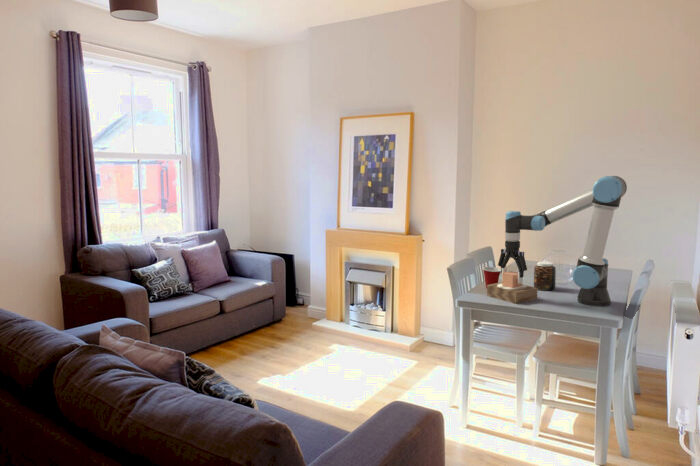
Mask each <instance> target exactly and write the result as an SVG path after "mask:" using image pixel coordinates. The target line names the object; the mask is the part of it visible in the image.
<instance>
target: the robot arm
mask: <svg viewBox="0 0 700 466" xmlns="http://www.w3.org/2000/svg"><path fill="white" fill-rule="evenodd" d="M627 189H628V187H627V183H626V181H625V179H624V178H622V177H620V176H618V175H608V176H607V175H606V176H602V177H600V178H599V179H598V180H596V181H595V183H594V184H593V186H592V189H590V190H588V191H585V192H583V193H581V194H579V195H577V196H575V197H572V198H570V199H567V200H566V201H563V202H561V203H558V204H557V205H554V206H553V207H550V208H548V209H546V210H544V211H543V210H542V211H541V212H540V213H537V214H533V215H523V214H522V213H521V211H519V210H509V211H506V212H505V219H504V220H505V221H504V222H505V223H504V224H505V231H504V232H505V233H504V234H505V235H504V237H505V238H504V240H505V242H504V246H505V248H501V249H500V256H499V260H498V263H497V266H498V267H500V269H501V272H500V274H502V273H504V272H508V271H507V264H508V262H509V260H510V259H513V260H514V261H515V264H516V266H517V268H518V271H517V272H518V284H520V283H522V284H523V278H524V276H525V275H524V273H525V271H528V267H527V263H526V257H525V251H520V248H521V241H520V240H521V230H522V231H523V230H526V231H535V232H536V231H538V232H539V231H540V232H541V231H543V230H545V227H547V226H549V225H551V224H553V223H556V222H559V221H560V220H563V219H565V218H567V217H569V216H570V217H571V216H572V215H574V214H578V213H579V212H581V211H583V210H587V209H588V208H591V207H593V211H592V215H591V219H590V224H589V228H588V232H587V235H586V236H587V237H586V241H585V245H584V248H583V253H582V255H580V256H579V257H578V259H577V262H576V263H577V264H576V267H575V268H574V270H573V271H572V274H571V275H572V281H573V283H574V284H575V285H576V286H578V287H579V288H580V290H579V292H578V293H577V294H578V295H577V300H576V301H577V302H578V303H580V304H582V305H587V306H595V307H596V306H597V307H599V306H600V307H602V306H609V305H611V298H610V297H611V296H610V294H609V290H608V271H609V260H608V259H607V258H604V257H603V256H604V253H605V250H606V249H605V248H606V245H607V241H608V237H609V234H610V229H611V226H612V225H611V224H612V220H613V217H614V213H615V211H616V210H617V209H618V208H620V205H621V200H622V197H624V196H625V194H626V193H627Z"/></svg>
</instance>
